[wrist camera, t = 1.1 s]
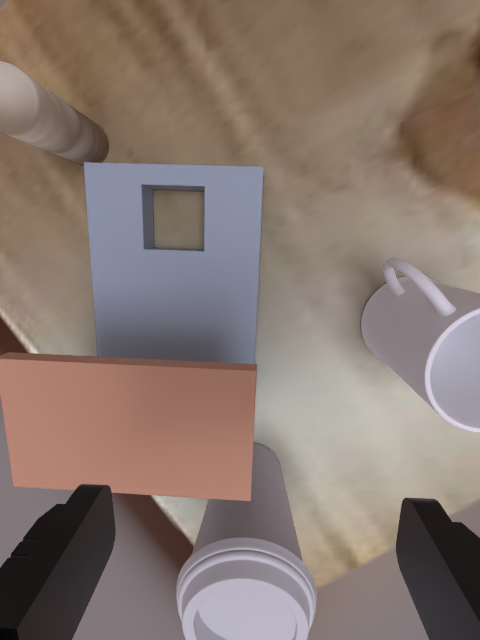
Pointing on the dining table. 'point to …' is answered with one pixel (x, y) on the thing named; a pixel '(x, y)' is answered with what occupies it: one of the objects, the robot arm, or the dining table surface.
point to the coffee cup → (248, 567)
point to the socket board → (151, 348)
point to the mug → (428, 340)
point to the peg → (47, 119)
